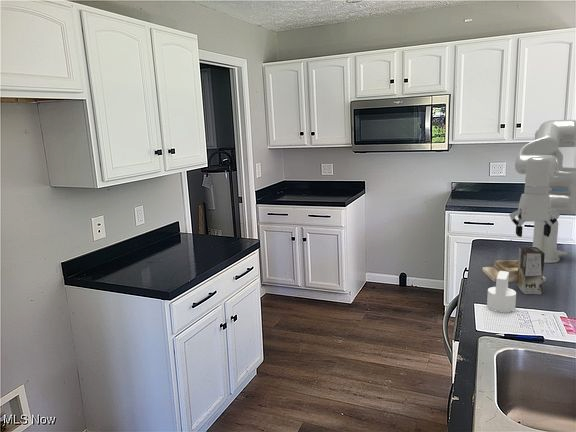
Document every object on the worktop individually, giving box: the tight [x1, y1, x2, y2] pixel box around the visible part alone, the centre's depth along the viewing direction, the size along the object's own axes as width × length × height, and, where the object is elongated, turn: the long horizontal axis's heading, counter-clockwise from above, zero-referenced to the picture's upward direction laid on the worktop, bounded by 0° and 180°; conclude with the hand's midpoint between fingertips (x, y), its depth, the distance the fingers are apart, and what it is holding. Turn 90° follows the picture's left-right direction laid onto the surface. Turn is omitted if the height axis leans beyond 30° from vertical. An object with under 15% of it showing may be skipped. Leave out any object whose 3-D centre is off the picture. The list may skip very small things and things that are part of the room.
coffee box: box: [516, 246, 545, 296], centre depth 168 cm, size 9×6×16 cm
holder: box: [481, 259, 546, 283], centre depth 184 cm, size 20×14×4 cm
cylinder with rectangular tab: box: [486, 271, 517, 313], centre depth 154 cm, size 9×9×12 cm
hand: (532, 236), depth 165 cm, fingers open, 9 cm apart
